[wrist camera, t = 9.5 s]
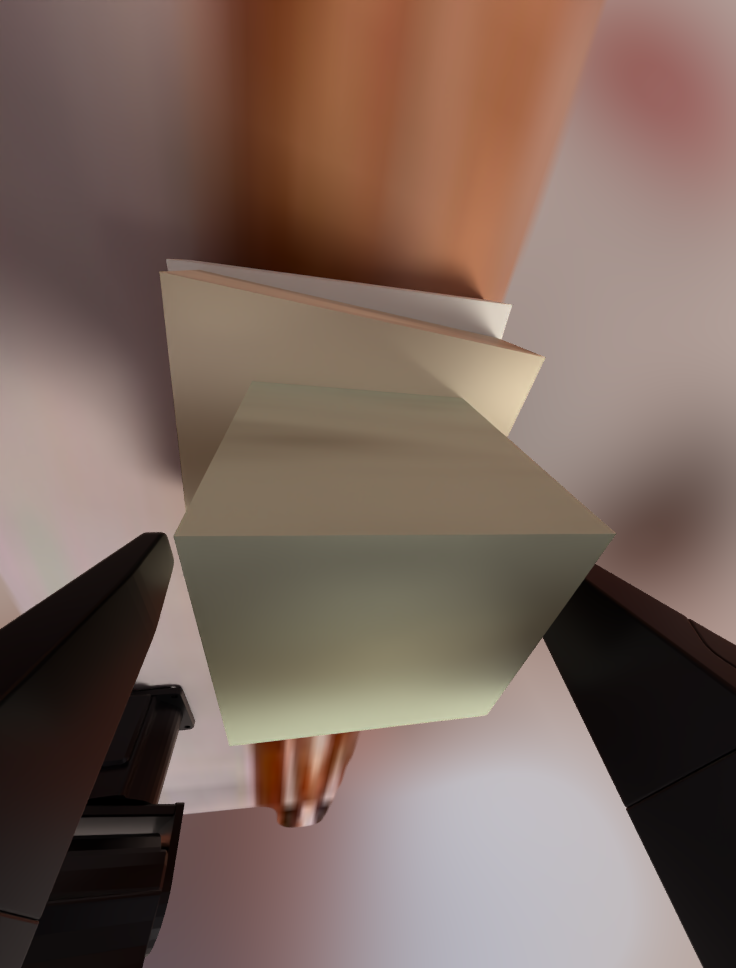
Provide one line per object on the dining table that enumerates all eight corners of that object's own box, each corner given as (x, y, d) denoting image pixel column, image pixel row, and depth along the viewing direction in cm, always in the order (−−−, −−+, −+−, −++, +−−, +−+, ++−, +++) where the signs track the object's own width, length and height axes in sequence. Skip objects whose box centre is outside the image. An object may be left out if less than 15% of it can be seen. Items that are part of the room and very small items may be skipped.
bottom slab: (422, 504, 20) (438, 539, 17) (230, 503, 18) (217, 541, 15) (476, 297, 14) (512, 304, 11) (196, 260, 12) (165, 258, 9)
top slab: (418, 539, 17) (435, 586, 15) (213, 527, 15) (193, 579, 12) (497, 338, 12) (545, 357, 9) (199, 269, 10) (159, 271, 7)
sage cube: (420, 544, 13) (486, 715, 8) (263, 546, 12) (229, 745, 7) (462, 397, 10) (616, 533, 5) (252, 381, 9) (173, 535, 4)
